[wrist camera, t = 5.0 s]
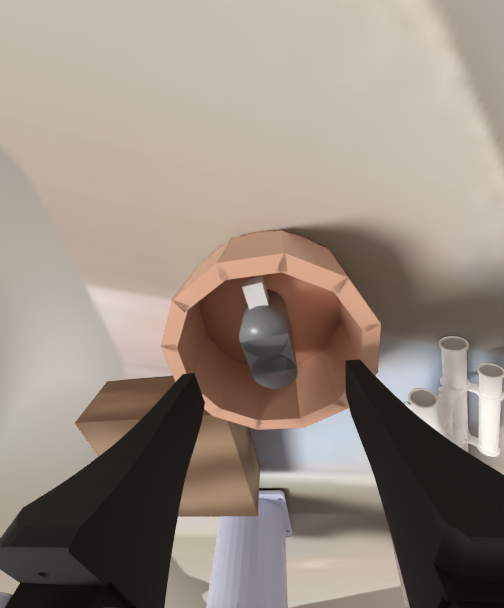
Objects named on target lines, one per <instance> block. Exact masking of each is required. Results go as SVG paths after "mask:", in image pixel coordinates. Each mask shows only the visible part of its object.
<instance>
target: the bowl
mask: <svg viewBox="0 0 504 608" xmlns="http://www.w3.org/2000/svg"><path fill="white" fill-rule="evenodd" d="M261 276H263V279H264V283H265V287H266V289H269V290H273V291H275V292H277V293H278V294H280V295H281V296H282V298H283V299H284V301H285V305H286V309H287V313H288V317H289V321H290V324H291V328H292V332H293V338H294V346H295V355H296V363H297V377H296V379H295V380H294V382H293V383H291V384H290V385H288V386H286V387H284V388H279V389H271V388H266V387H264V386H262V385H260V384H258V383H257V382H256V381H255V379H254V378H253V376H252V373H251V370H250V368H249V365H248V362H247V360H246V357H245V354H244V351H243V349H242V346H241V343H240V340H239V334H240V329H241V324H242V319H243V314H244V309H245V304H246V298H245V295H244V292H243V289H242V285H243V281H244V280H248V279H253V278H257V277H261ZM380 331H381V323H380V321H379V320H378V318H377V317H376V316H375V314H374V313H373V311H372V310H371V309H370V307H369V306H368V304H367V303H366V301H365V300H364V299H363V297H362V296H361V294H360V293H359V291H358V290H357V289H356V287H355V286H354V285H353V283H352V282H351V281H350V279H349V277H348V276H347V275H346V273H345V272H344V270H343V269H342V268H341V266H340V265H339V263H338V262H337V260H336V259H335V258H334V256H333V255H332V253H331V252H330V250H329V249H328V248H325V247H323V246H320V245H318V244H316V243H315V242H313V241H311V240H309V239H307V238H305V237H302V236H299V235H296V234H293V233H287V232H285V231H282V230H280V231H261V232H254V233H250V234H246V235H243V236H240V237H236V238H231V239H230V240H229V241H228V242H227V243H225V244H224V245H223V246H221V247H220V248H219V249H217V250H216V251H215V252H214V253H213V254H212V255H211V256H210V257H209V258H208V259H207V260H205V261H204V262H203V263H202V264H201V265H200V266H198V267H197V268H196V270H195V271H194V272H193V273H192V275H191V276H190V277H189V279H188V280H187V281H186V282H185V284H184V285H183V286H182V288H181V289H180V290H179V291H178V293H177V294H176V295H175V297H174V298H173V299H172V302H171V307H170V311H169V315H168V319H167V323H166V327H165V331H164V335H163V340H162V344H161V348H162V350H163V353H164V355H165V358H166V360H167V363H168V365H169V367H170V370H171V372H172V375H173V377H174V380H175V382H176V381H177V380H178V379H179V378H180V377H181V376H182V374H189V373H195V376H196V379H197V382H198V384H199V387H200V390H201V393H202V396H203V398H204V401H205V406H204V409H205V410H206V411H207V412H208V413H210V414H211V415H212V416H214V417H218V418H221V419H224V420H227V421H231V422H234V423H237V424H240V425H244V426H247V427H250V428H253V429H257V430H262V429H283V428H305V427H307V426H309V425H312V424H314V423H316V422H318V421H321V420H323V419H325V418H327V417H330V416H332V415H334V414H336V413H339V412H341V411H343V410H345V409H347V408H349V404H348V400H347V396H346V373H345V360H357V359H360V360H361V361H362V362H363V363H364V364H365V365H366V366H367V368H368V369H369V370H370V371H371V372H372V373H373V374H374V375H376V374H377V373H378V362H379V347H380Z"/></svg>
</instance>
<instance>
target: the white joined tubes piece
mask: <svg viewBox="0 0 504 608" xmlns="http://www.w3.org/2000/svg"><path fill="white" fill-rule="evenodd" d="M439 347H440V348H441V354H442V368H443V376H442V377H441V379H440V383H441V385H442V387H440V388H439V394H438V396H437V395H436V394H435V393H434V392H433V391H431V390H429V389H425V388H416V389H413V390H412V391H411V392H410V393H409V395H408V398H409V401H410V403H411V404H409V403H407V402H404V404H405V405H406V406H407V407H408V408H409V409H410V410H411V411H413V412H414V413H415V414H416V415H417V416H419V417H420V418H421V419H422V420H424V421H425V422H426V423H427V424H429V425H430V426H431V427H432V428H434V429H435V430H436V431H438V432H439V433H440V434H442V435H443V436H445V437H446V438H447V439H449V440H450V441H451V442H453V443H454V444H456V445H457V446H459V447H460V448H462V449H463V450H465V451H466V452H468V443H469V444H472V445H474V446H476V447H477V448H478V450H479V451H480V452H481V453H483V454H484V455H487V456H490V457H496V456H498V455H499V454H500V446H499V445H498V444H499V428H500V412H501V401H502V400H503V399H504V392H503V391H502V380H503V378H504V369H503V368H502V367H501V366H499V365H496V364H492V363H484V364H481V365H479V366H478V367H477V372H478V374H479V385H477V384H473V383H470V380H469V379H468V378H467V349H468V347H469V344H468V341H466V340H465V339H463V338H461V337H458V336H447V337H444V338H442V339H440V340H439ZM467 391H470V392H473V393H477V394H478V396H479V438H477V437H475V436H472V435H471V434H470V432H469V430H468V406H467Z"/></svg>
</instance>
